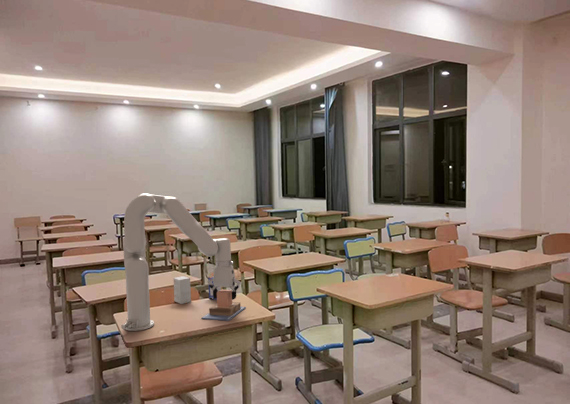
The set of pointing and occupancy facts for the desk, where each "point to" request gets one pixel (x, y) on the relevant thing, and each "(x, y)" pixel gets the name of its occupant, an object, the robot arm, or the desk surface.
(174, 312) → the desk surface
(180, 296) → the small box
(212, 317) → the board
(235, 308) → the walnut base block
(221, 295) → the terracotta block
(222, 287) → the walkman
